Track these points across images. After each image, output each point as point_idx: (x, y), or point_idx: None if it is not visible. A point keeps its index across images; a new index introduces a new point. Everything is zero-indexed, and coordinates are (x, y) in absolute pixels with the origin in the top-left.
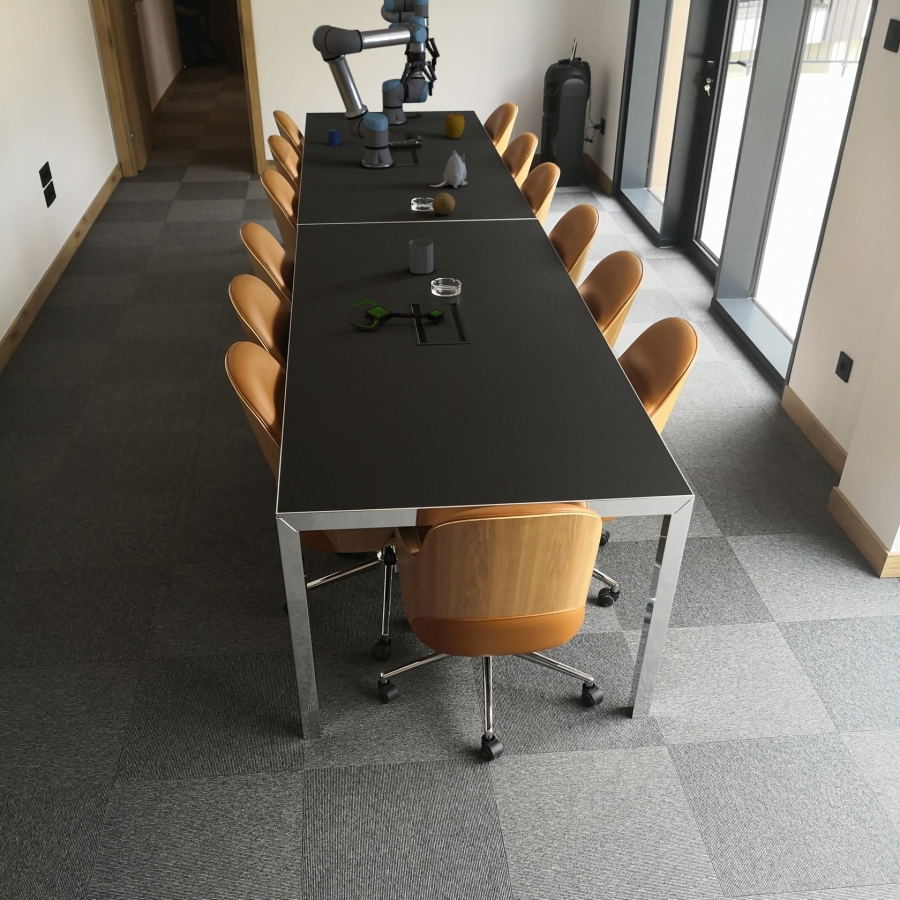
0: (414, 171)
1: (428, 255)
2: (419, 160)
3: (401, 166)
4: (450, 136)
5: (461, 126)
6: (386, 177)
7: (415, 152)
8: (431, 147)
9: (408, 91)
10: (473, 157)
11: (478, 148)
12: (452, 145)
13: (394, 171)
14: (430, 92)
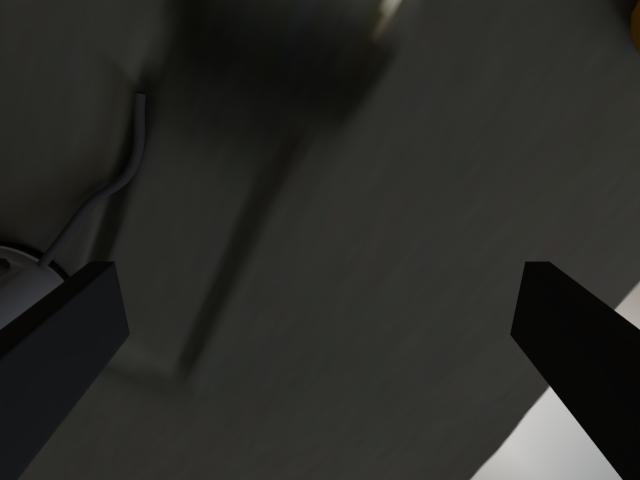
0: (137, 438)
1: None
2: (222, 328)
3: (113, 366)
4: (633, 35)
5: None
6: None
7: (272, 198)
8: (403, 148)
9: (58, 412)
10: (448, 393)
11: None
12: (524, 171)
13: None
14: (539, 353)
